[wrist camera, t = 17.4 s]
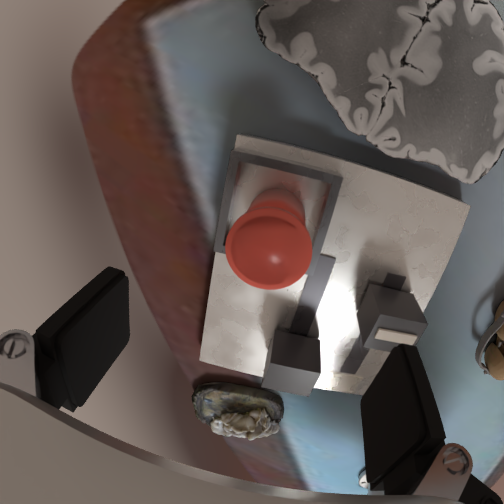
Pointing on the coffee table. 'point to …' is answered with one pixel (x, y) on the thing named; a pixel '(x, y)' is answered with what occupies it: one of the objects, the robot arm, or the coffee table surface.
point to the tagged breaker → (389, 318)
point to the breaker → (292, 363)
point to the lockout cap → (270, 241)
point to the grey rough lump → (238, 409)
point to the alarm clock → (493, 347)
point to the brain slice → (403, 73)
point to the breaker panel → (326, 258)
